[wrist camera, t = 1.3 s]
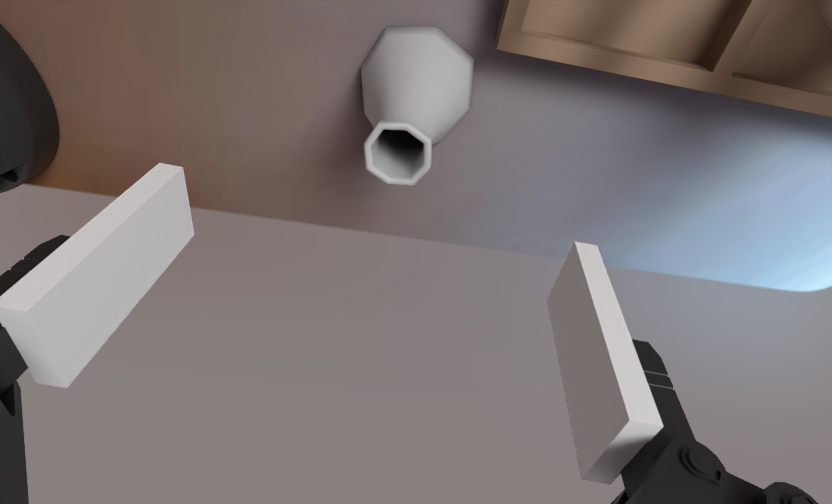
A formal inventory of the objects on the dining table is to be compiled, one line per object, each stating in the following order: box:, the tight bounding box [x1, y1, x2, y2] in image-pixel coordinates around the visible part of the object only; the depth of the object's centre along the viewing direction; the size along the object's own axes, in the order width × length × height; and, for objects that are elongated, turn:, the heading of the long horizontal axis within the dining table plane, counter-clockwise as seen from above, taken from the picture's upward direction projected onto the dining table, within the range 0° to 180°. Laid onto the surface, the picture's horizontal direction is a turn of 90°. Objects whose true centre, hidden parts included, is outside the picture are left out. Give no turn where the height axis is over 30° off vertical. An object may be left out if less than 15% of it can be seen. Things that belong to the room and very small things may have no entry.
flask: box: [361, 26, 474, 186], centre depth 25 cm, size 7×7×10 cm
